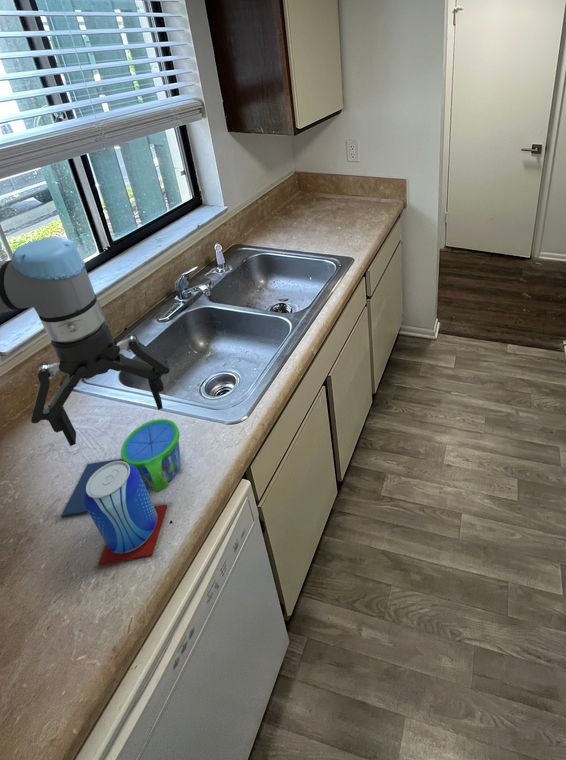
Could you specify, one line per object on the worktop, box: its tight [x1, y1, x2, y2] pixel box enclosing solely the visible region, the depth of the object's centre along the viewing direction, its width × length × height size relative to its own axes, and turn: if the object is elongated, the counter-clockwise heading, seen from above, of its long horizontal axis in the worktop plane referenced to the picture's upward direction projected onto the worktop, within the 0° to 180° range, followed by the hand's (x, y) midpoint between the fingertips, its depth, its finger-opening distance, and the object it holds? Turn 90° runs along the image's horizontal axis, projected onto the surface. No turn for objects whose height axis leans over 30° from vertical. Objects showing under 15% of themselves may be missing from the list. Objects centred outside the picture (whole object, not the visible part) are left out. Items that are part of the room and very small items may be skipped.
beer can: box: [84, 461, 157, 553], centre depth 79 cm, size 8×8×16 cm
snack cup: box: [120, 418, 182, 493], centre depth 92 cm, size 16×10×10 cm
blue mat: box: [61, 458, 124, 518], centre depth 91 cm, size 11×11×1 cm
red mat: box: [97, 504, 168, 567], centre depth 83 cm, size 9×9×1 cm
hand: (118, 421), depth 79 cm, fingers open, 13 cm apart
